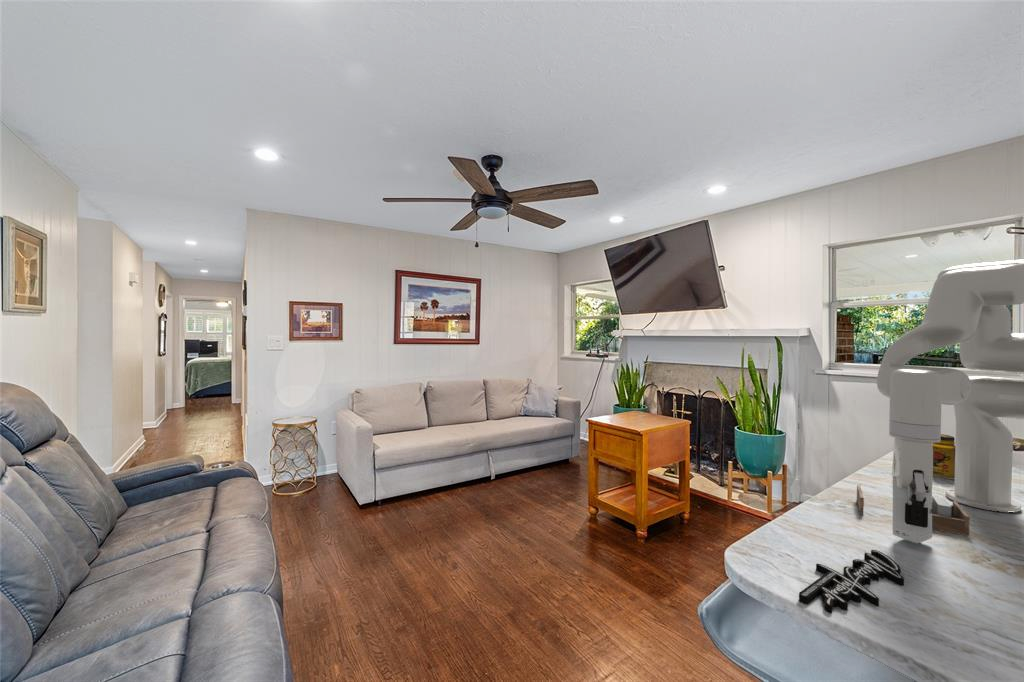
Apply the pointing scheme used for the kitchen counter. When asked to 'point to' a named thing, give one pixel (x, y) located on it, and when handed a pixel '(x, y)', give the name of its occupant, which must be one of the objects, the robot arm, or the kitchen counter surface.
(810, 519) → the kitchen counter surface
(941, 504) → the slate offcut
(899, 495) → the skincare box
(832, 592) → the nameplate
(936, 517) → the walnut rack
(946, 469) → the condiment
